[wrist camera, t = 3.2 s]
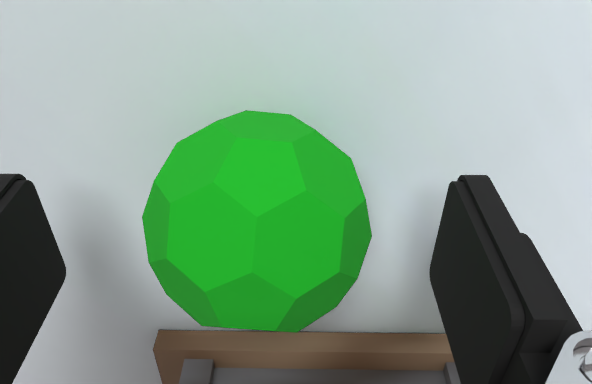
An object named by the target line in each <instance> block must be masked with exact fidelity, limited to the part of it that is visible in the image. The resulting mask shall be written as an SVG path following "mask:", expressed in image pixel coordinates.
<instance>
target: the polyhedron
mask: <svg viewBox="0 0 592 384" xmlns="http://www.w3.org/2000/svg"><path fill="white" fill-rule="evenodd" d="M142 219H143V226H144V233H145V240H146V246H147V253H148V260H149V264H150V266H151V267H152V269H153V271H154V273H155V275H156V276H157V278H158V280H159V282H160V284H161V285H162V287H163V289H164V291H165V293H166V294H167V295H168V296H169V297H170V298H171V299H172V300H173V301H174V302H176V303H177V304H178V305H179V306H180V307H181V308H182V309H183V310H185V311H186V312H187V313H188V314H189V315H190V316H191V317H192V318H193V319H195V320H196V321H197V322H198V323H199V324H200V325H201V326H211V327H224V328H238V329H252V330H265V331H280V332H294V333H297V332H299V331H300V330H302V329H303V328H305V327H306V326H308V325H309V324H311V323H312V322H314V321H315V320H317V319H319V318H320V317H322V316H323V315H325V314H326V313H328V312H329V311H331V310H332V309H334V308H336V307H337V305H338V304H339V303H340V301H341V300H342V299H343V297H344V296H345V295H346V293H347V292H348V291H349V289H350V288H351V287H352V285H353V284H354V283H355V281H356V280H357V278H358V275H359V272H360V269H361V266H362V263H363V260H364V257H365V255H366V252H367V249H368V246H369V243H370V240H371V237H372V234H371V228H370V222H369V216H368V211H367V205H366V199H365V196H364V193H363V190H362V188H361V185H360V182H359V179H358V176H357V174H356V171H355V168H354V165H353V162H352V160H351V158H350V157H349V156H347V155H346V154H345V153H344V152H342V151H341V150H340V149H339V148H337V147H336V146H335V145H334V144H332V143H331V142H330V141H329V140H327V139H326V138H325V137H324V136H322V135H321V134H320V133H319V132H317V131H316V130H315V129H313V128H311V127H310V126H308V125H307V124H305V123H303V122H302V121H300V120H298V119H297V118H295V117H294V116H292V115H289V114H278V113H268V112H257V111H243V112H241V113H238V114H235V115H232V116H230V117H227V118H224V119H221V120H218V121H216V122H214V123H212V124H211V125H209V126H207V127H205V128H203V129H201V130H200V131H198V132H196V133H194V134H192V135H190V136H189V137H187V138H185V139H183V140H181V141H180V142H178V143H177V144H176V145H175V147H174V149H173V150H172V152H171V154H170V155H169V157H168V159H167V160H166V162H165V164H164V165H163V167H162V169H161V170H160V172H159V174H158V175H157V177H156V179H155V180H154V183H153V186H152V189H151V192H150V195H149V198H148V201H147V204H146V207H145V210H144V213H143V216H142Z"/></svg>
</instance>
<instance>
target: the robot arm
mask: <svg viewBox="0 0 592 384" xmlns="http://www.w3.org/2000/svg"><path fill="white" fill-rule="evenodd" d="M65 276H66V267H65V264H64V261H63V258H62V256H61V253H60V251H59V248H58V245H57V243H56V240H55V238H54V235H53V233H52V230H51V227H50V225H49V222H48V220H47V217H46V215H45V212H44V209H43V207H42V204H41V202H40V199H39V196H38V194H37V191H36V189H35V186H34V184H33V183H32V182H31V181H29V180H26V178H25V177H24V176H23V175H21V174H0V384H12V383H13V381H14V379H15V377H16V375H17V373H18V371H19V369H20V367H21V365H22V363H23V361H24V359H25V357H26V355H27V353H28V351H29V349H30V347H31V345H32V343H33V341H34V339H35V337H36V336H37V334H38V332H39V330H40V328H41V326H42V324H43V322H44V320H45V318H46V316H47V314H48V312H49V310H50V308H51V306H52V304H53V302H54V300H55V298H56V296H57V294H58V292H59V290H60V288H61V287H62V285H63V283H64V280H65ZM430 281H431V285H432V288H433V292H434V295H435V298H436V302H437V305H438V308H439V312H440V315H441V318H442V322H443V325H444V328H445V332H446V335H447V338H448V342H449V345H450V349H451V352H452V355H453V359H454V362H455V365H456V369H457V372H458V375H459V379H460V382H461V384H592V331H583V330H582V328H581V326H580V325H579V323H578V321H577V319H576V318H575V316H574V314H573V312H572V311H571V309H570V307H569V305H568V304H567V302H566V300H565V298H564V297H563V295H562V293H561V291H560V290H559V288H558V286H557V284H556V283H555V281H554V279H553V277H552V276H551V274H550V272H549V270H548V269H547V267H546V265H545V263H544V262H543V260H542V258H541V256H540V255H539V253H538V251H537V249H536V248H535V246H534V244H533V242H532V241H531V239H530V238H529V237H528V235H526V234H524V233H520V232H519V230H518V228H517V227H516V225H515V223H514V221H513V219H512V218H511V216H510V214H509V212H508V210H507V209H506V207H505V205H504V203H503V201H502V200H501V198H500V196H499V194H498V192H497V191H496V189H495V187H494V185H493V183H492V182H491V180H490V178H489V177H488V176H486V175H461V176H459V178H458V180H457V181H452V182H451V183H450V184H449V188H448V192H447V196H446V200H445V205H444V209H443V213H442V217H441V222H440V226H439V230H438V235H437V239H436V243H435V247H434V252H433V256H432V260H431V264H430Z"/></svg>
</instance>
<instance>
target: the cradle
mask: <svg viewBox="0 0 592 384" xmlns="http://www.w3.org/2000/svg"><path fill="white" fill-rule="evenodd" d="M153 351H154V355H155V359H156V362H157V366H158V369H159V373H160V376H161V380H162V383H163V384H461V382H460V379H459V375H458V372H457V369H456V365H455V362H454V359H453V355H452V352H451V349H450V345H449V342H448V338H447V335H446V334H421V333H341V332H297V333H294V332H261V331H181V330H158V334H157V337H156V341H155V344H154V348H153Z"/></svg>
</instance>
